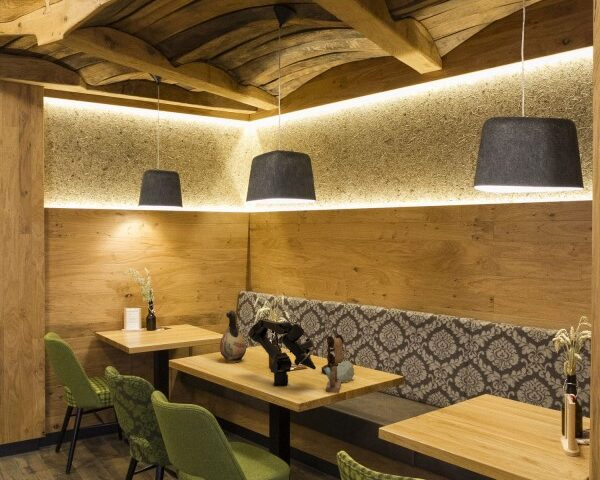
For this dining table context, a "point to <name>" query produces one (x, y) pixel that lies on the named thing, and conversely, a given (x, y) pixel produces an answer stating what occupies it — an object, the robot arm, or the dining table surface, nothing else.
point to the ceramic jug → (232, 341)
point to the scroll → (338, 349)
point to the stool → (333, 381)
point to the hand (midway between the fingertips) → (315, 368)
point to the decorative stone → (345, 371)
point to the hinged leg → (327, 372)
